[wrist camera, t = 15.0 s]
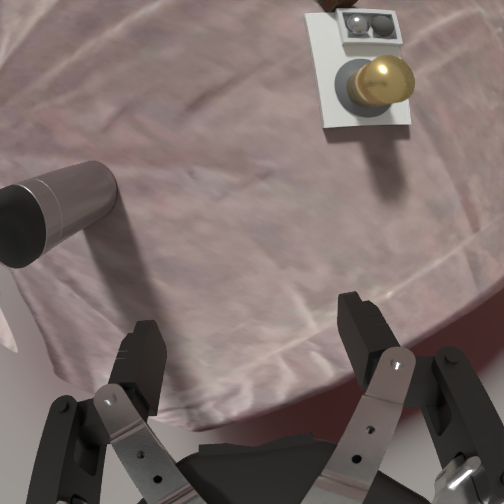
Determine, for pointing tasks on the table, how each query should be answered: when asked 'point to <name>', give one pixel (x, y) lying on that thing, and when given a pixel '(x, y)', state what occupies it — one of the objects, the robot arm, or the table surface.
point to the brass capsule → (381, 82)
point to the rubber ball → (382, 26)
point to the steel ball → (357, 25)
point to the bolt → (337, 4)
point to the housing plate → (350, 66)
